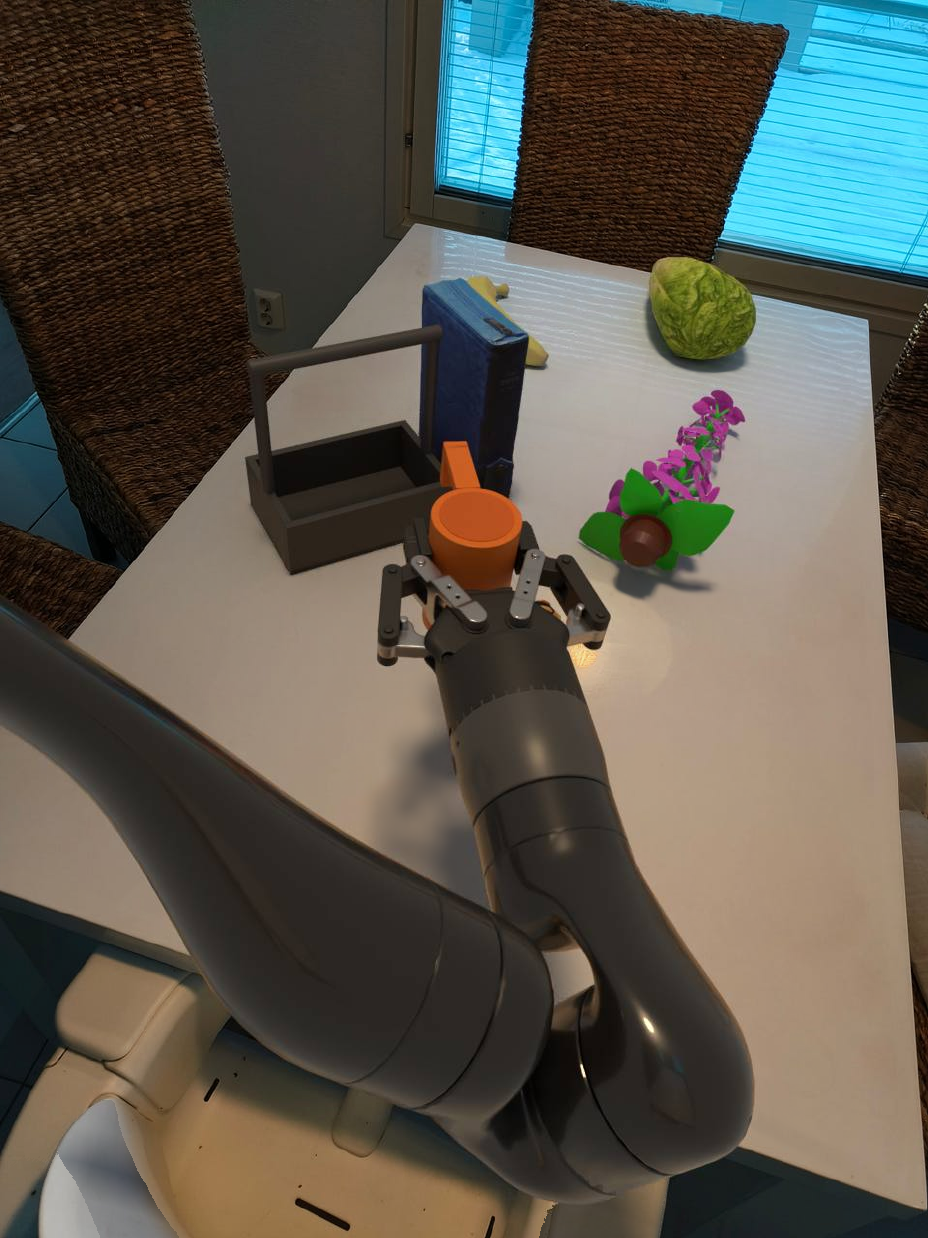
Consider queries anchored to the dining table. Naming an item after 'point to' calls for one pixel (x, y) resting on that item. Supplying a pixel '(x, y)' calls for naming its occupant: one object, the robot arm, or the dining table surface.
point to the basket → (344, 467)
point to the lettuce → (700, 308)
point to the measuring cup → (472, 527)
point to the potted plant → (667, 499)
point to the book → (475, 379)
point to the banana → (489, 292)
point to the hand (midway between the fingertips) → (464, 526)
